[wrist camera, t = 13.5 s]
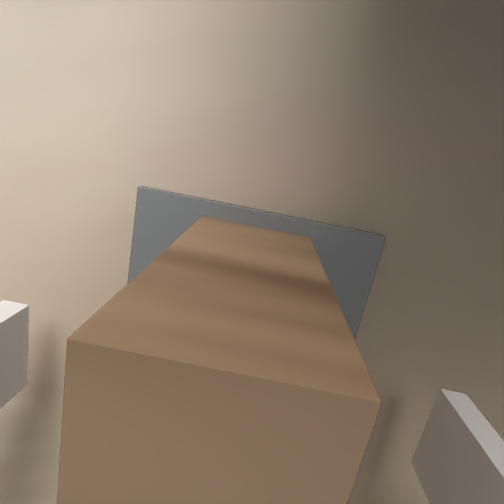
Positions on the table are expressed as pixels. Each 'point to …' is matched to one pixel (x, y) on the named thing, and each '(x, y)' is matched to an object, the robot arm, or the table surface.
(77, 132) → the table surface
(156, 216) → the pad
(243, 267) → the stepped wooden block
